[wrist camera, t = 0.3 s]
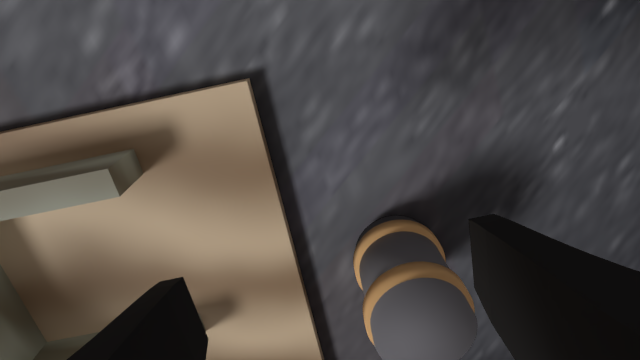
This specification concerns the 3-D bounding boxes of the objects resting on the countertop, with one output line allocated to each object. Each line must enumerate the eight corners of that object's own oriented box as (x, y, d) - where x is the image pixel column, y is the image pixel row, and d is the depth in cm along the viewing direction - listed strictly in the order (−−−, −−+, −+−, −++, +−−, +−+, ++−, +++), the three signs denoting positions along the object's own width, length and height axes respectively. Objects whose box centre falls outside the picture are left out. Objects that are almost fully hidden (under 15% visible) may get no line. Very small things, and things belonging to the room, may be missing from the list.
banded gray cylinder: (439, 276, 22) (485, 365, 16) (359, 291, 22) (377, 384, 16) (431, 204, 20) (479, 276, 15) (344, 221, 20) (359, 298, 15)
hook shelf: (329, 378, 24) (332, 430, 21) (75, 423, 25) (43, 480, 22) (249, 78, 17) (237, 91, 14) (-96, 152, 18) (-177, 180, 15)
